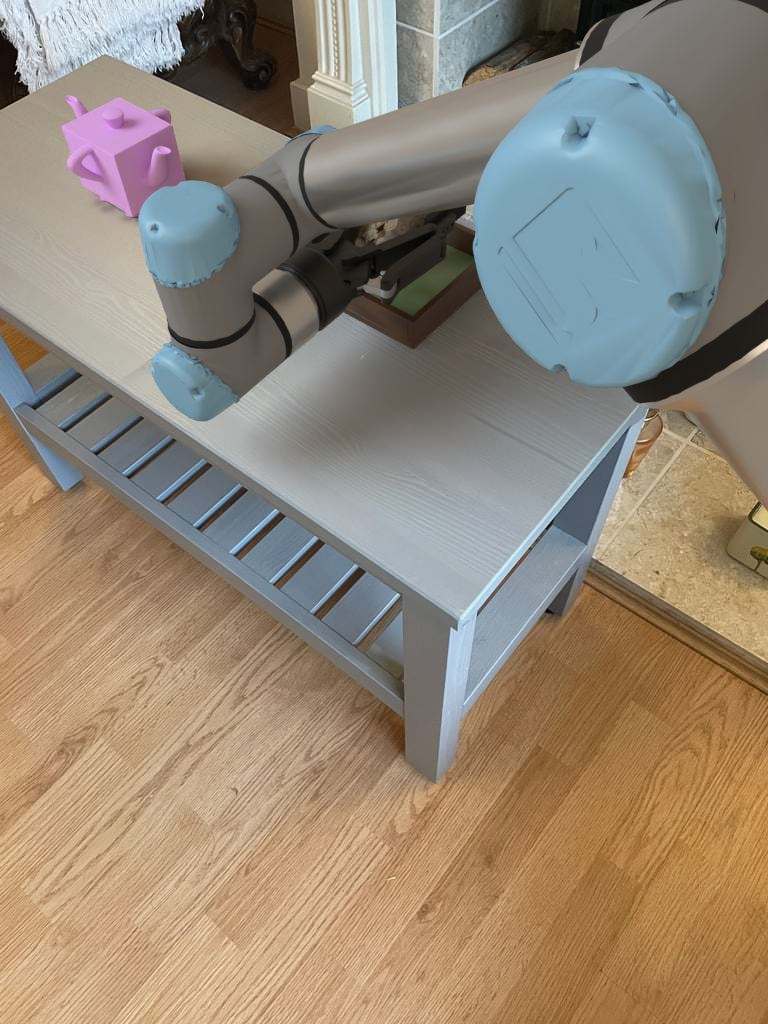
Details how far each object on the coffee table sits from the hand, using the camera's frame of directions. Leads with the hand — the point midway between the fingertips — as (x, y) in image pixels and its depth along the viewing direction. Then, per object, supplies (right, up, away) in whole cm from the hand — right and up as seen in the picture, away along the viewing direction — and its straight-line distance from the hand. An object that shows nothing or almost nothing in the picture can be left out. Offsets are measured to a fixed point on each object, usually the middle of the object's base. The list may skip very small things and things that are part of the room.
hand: (437, 189), depth 87 cm
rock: (-3, -7, +3) cm, 8 cm away
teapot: (-38, +6, +17) cm, 42 cm away
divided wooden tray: (-10, -4, +9) cm, 14 cm away
